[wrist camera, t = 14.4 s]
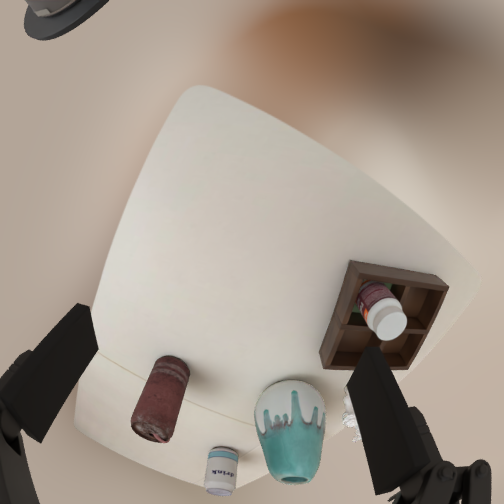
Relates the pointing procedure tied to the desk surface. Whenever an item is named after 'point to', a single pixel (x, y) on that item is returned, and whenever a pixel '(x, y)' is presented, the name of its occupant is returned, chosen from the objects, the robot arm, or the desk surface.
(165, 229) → the desk surface
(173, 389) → the red cylinder
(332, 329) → the holder
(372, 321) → the pill bottle
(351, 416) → the flower shoulder figurine
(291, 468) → the vase
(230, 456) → the beverage can
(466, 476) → the robot arm
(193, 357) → the desk surface
